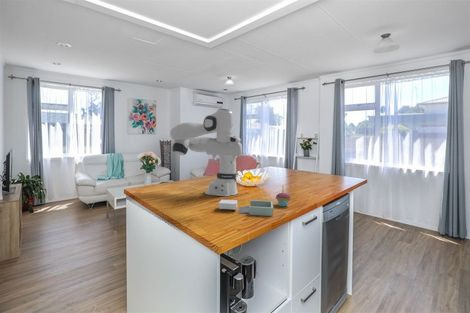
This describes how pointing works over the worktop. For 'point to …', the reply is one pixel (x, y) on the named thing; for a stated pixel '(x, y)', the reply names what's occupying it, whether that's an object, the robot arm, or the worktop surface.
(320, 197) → the worktop surface
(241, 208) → the dock
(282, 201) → the cupcake
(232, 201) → the white rectangular block
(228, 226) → the worktop surface
